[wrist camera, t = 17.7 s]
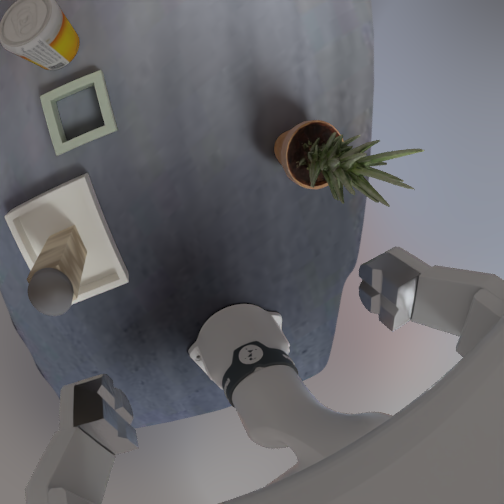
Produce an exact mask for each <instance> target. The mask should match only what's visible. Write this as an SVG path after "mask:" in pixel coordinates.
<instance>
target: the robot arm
mask: <svg viewBox="0 0 504 504" xmlns="http://www.w3.org/2000/svg"><path fill="white" fill-rule="evenodd" d="M359 276H360V277H361V278H362V279H363V280H362V282H361V284H360V286H359V296H360V299H361V301H362V303H363V305H364V306H365V308H366V309H368V311H370V312H371V313H375V314H379V321H381V322H382V323H383V324H384V325H385V326H386V327H387V328H389V329H390V330H391V331H392V332H393V331H394V330H396V329H398V328H400V327H401V326H403V325H404V324H405V323H407V322H409V321H410V320H412V322H415V323H419V324H422V325H425V326H428V327H431V328H434V329H437V330H441V331H444V332H447V333H450V334H453V335H456V336H460V338H459V341H458V343H457V346H456V351H457V352H458V353H459V354H460V355H461V356H462V357H463V358H462V359H461V360H460V361H459V362H458V363H457V364H456V365H455V366H454V367H453V368H452V369H451V370H450V371H448V372H447V373H446V374H445V375H444V376H443V377H442V378H441V379H440V380H438V381H437V382H436V383H435V384H433V385H432V386H431V387H430V388H429V389H427V390H426V391H425V392H424V393H423V394H421V395H420V396H419V397H418V398H416V399H415V400H414V401H412V402H411V403H410V404H409V405H407V406H406V407H405V408H403V409H402V410H401V411H399V412H398V413H396V414H395V415H394V416H392V415H389V414H385V413H381V412H366V413H359V414H347V413H341V412H337V411H334V410H332V409H330V408H328V407H326V406H325V405H323V404H322V403H320V402H319V401H318V400H317V399H316V397H315V396H314V395H313V394H312V393H311V392H310V390H309V389H308V388H307V387H306V385H305V384H304V383H303V381H302V380H301V379H300V377H299V376H298V371H297V369H296V367H295V364H294V363H293V361H292V360H291V358H289V356H288V353H289V352H290V350H289V346H290V344H289V342H288V340H287V339H286V337H285V335H284V334H283V332H282V331H281V329H282V317H281V315H280V314H279V313H277V312H268V311H265V310H264V309H262V308H260V307H258V306H256V305H252V304H237V305H232V306H229V307H226V308H224V309H222V310H220V311H218V312H217V313H215V314H214V315H212V316H211V317H210V318H209V319H208V320H207V321H206V322H205V324H204V325H203V326H202V328H201V330H200V332H199V335H198V338H197V340H196V342H195V343H194V344H193V345H192V346H191V347H190V349H189V351H188V353H189V355H190V357H191V358H192V359H193V360H194V361H195V362H196V363H197V365H198V366H199V367H200V368H201V369H202V370H203V371H204V372H205V373H206V374H207V375H208V376H209V378H210V380H213V381H214V382H215V383H216V384H217V385H218V386H219V387H220V388H221V389H223V390H224V393H225V395H226V397H227V399H228V401H229V402H230V404H231V405H232V406H233V407H234V408H236V411H237V413H238V415H239V417H240V420H241V422H242V424H243V426H244V428H245V430H246V432H247V434H248V436H249V438H250V439H251V440H252V441H253V442H255V443H256V444H258V445H260V446H262V447H266V448H272V449H273V448H286V447H290V448H291V449H292V450H293V452H294V453H295V454H296V456H297V459H298V462H297V464H295V465H294V466H293V467H291V468H290V469H289V470H287V471H286V472H285V473H283V474H282V475H280V476H279V477H278V478H276V479H275V480H273V481H272V482H271V483H269V484H267V485H266V486H265V487H263V488H261V489H258V490H256V491H253V492H250V493H248V494H245V495H242V496H239V497H237V498H234V499H231V500H228V501H225V502H222V503H219V504H504V280H502V279H501V278H499V277H498V276H496V275H495V274H489V273H482V272H476V271H469V270H463V269H455V268H449V267H442V266H436V265H435V266H433V267H431V266H429V265H428V264H426V263H425V262H423V261H422V260H420V259H418V258H417V257H415V256H414V255H412V254H410V253H409V252H407V251H405V250H404V249H402V248H400V247H394V248H392V249H390V250H388V251H386V252H385V253H383V254H381V255H379V256H377V257H375V258H373V259H371V260H370V261H368V262H366V263H364V264H362V265H361V266H360V269H359ZM198 355H199V356H198ZM132 420H133V412H132V408H131V406H130V403H129V400H128V399H127V397H126V396H125V394H124V393H123V392H122V391H121V390H120V389H117V388H114V386H113V380H112V379H111V378H110V377H109V376H108V375H107V374H101V375H98V376H95V377H91V378H88V379H85V380H81V381H78V382H76V383H73V384H69V385H65V386H63V387H62V389H61V395H60V412H59V431H57V432H55V433H54V435H53V437H52V438H51V440H50V442H49V444H48V446H47V448H46V450H45V451H44V453H43V455H42V457H41V459H40V461H39V462H38V464H37V466H36V468H35V470H34V472H33V474H32V476H31V478H30V480H29V482H28V485H27V486H26V488H25V496H26V504H102V500H103V497H104V493H105V490H106V487H107V483H108V480H109V477H110V473H111V470H112V467H113V464H114V461H115V455H117V454H121V453H125V452H128V451H132V450H135V449H138V448H139V446H138V441H137V436H136V430H135V429H134V428H133V427H132V426H131V425H130V424H131V422H132Z"/></svg>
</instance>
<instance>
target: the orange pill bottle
mask: <svg viewBox="0 0 504 504" xmlns="http://www.w3.org/2000/svg"><path fill="white" fill-rule="evenodd" d="M0 42H1V44H2V46H3V47H4V48H5V49H6V50H7V51H9V52H11V53H14V54H16V55H18V56H20V57H22V58H24V59H26V60H28V61H30V62H32V63H34V64H36V65H38V66H40V67H42V68H44V69H47V70H57V69H60V68H62V67H64V66H66V65H67V64H68V63H70V62H71V61H72V59H73V58H74V57H75V55H76V54H77V51H78V49H79V37H78V35H77V33H76V32H75V30H74V29H73V27H72V25H71V24H70V22H69V21H68V19H67V18H66V16H65V15H64V13H63V12H62V10H61V9H60V7H59V6H58V4H57V2H56V1H55V0H17V1H16V2H15V3H14V4H12V5H11V6H10V7H9V9H8V10H7V11H6V13H5V14H4V16H3V18H2V20H1V22H0Z"/></svg>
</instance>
